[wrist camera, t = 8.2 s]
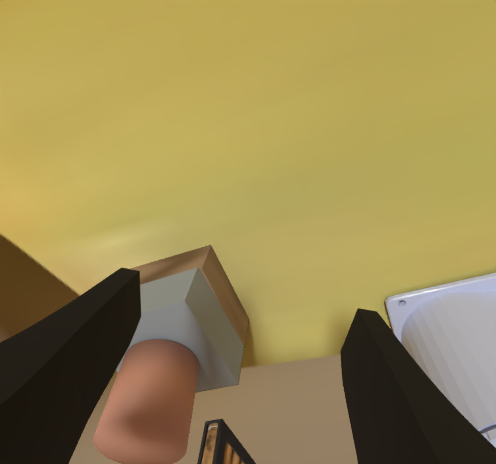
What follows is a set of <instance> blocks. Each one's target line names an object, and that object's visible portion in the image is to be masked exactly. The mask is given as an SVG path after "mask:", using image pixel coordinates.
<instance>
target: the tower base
mask: <svg viewBox="0 0 496 464" xmlns="http://www.w3.org/2000/svg"><path fill="white" fill-rule="evenodd" d="M197 267H198V268H199V270H200V272H201V274H202V275H203V277H204V279H205V280H206V282H207V284H208V285H209V287H210V289H211V291H212V292H213V294H214V296H215V297H216V299H217V301H218V302H219V304H220V306H221V308H222V309H223V311H224V313H225V314H226V316H227V318H228V319H229V321H230V323H231V325H232V326H233V328H234V330H235V331H236V333H237V335H238V336H239V338H240V340H241V342H242V343H243V345H244V348H245V345H246V338H247V330H248V323H249V318H248V316H247V314H246V312H245V310H244V308H243V306H242V304H241V303H240V301H239V299H238V297H237V295H236V293H235V291H234V289H233V287H232V285H231V283H230V281H229V279H228V277H227V275H226V273H225V271H224V269H223V267H222V265H221V264H220V262H219V260H218V258H217V256H216V254H215V252H214V250H213V248H212V246H211V245H209V246H205V247H202V248H199V249H195V250H192V251H188V252H185V253H182V254H178V255H175V256H172V257H168V258H165V259H161V260H158V261H155V262H151V263H148V264H145V265H141V266H138V267H134V268H131V269H132V270H137V271H140V285H141V284H144V283H148V282H151V281H154V280H158V279H161V278H164V277H167V276H171V275H174V274H177V273H180V272H184V271H187V270H190V269H194V268H197Z"/></svg>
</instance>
